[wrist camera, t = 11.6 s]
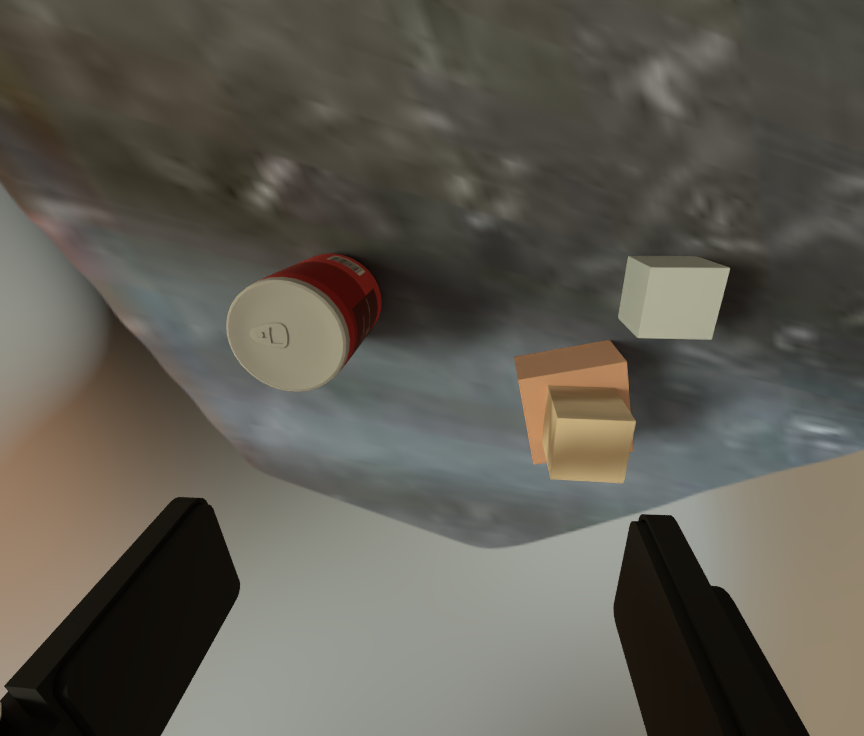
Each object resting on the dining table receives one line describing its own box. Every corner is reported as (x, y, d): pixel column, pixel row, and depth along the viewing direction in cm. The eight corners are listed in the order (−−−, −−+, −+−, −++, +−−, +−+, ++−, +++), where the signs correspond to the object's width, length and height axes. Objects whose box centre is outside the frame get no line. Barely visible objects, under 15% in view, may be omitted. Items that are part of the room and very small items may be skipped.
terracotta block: (514, 355, 38) (518, 379, 33) (608, 339, 36) (626, 361, 32) (527, 432, 41) (533, 464, 36) (616, 419, 39) (633, 451, 35)
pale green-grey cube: (627, 255, 33) (650, 267, 29) (696, 255, 33) (730, 267, 28) (617, 317, 35) (637, 337, 31) (681, 318, 35) (711, 339, 30)
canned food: (281, 263, 37) (204, 294, 27) (368, 241, 35) (322, 264, 25) (312, 346, 39) (253, 402, 29) (394, 328, 38) (362, 381, 28)
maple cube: (547, 385, 33) (557, 418, 29) (614, 387, 33) (636, 421, 28) (541, 440, 35) (550, 478, 31) (605, 443, 35) (623, 483, 30)
